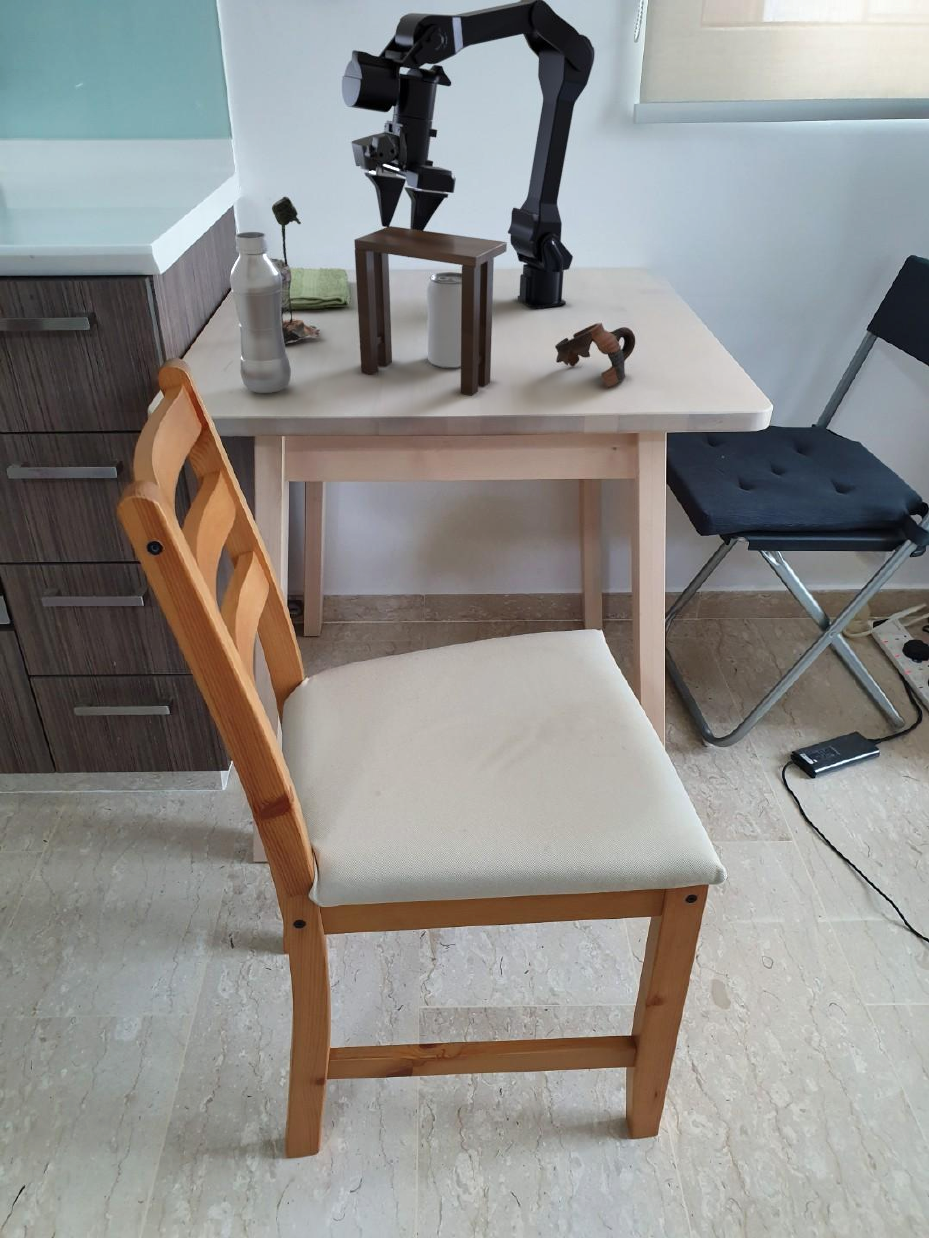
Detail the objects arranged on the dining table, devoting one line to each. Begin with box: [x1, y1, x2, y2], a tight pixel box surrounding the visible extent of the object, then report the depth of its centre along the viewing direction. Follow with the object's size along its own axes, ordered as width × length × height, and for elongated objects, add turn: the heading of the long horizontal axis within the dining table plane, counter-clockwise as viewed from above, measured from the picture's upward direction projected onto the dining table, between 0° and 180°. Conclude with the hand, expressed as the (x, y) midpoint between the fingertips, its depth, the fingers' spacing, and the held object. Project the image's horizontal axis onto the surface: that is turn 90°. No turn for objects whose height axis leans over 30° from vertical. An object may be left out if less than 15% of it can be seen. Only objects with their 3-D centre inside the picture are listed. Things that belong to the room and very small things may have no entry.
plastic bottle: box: [229, 231, 292, 394], centre depth 120 cm, size 6×7×20 cm
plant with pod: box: [269, 196, 320, 344], centre depth 137 cm, size 8×11×20 cm
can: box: [426, 271, 462, 369], centre depth 132 cm, size 6×6×12 cm
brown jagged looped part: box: [554, 322, 636, 389], centre depth 131 cm, size 12×10×8 cm
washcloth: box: [287, 266, 351, 311], centre depth 161 cm, size 13×18×3 cm
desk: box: [354, 225, 508, 397], centre depth 127 cm, size 9×18×18 cm, turn 62°
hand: (399, 233), depth 140 cm, fingers open, 9 cm apart
